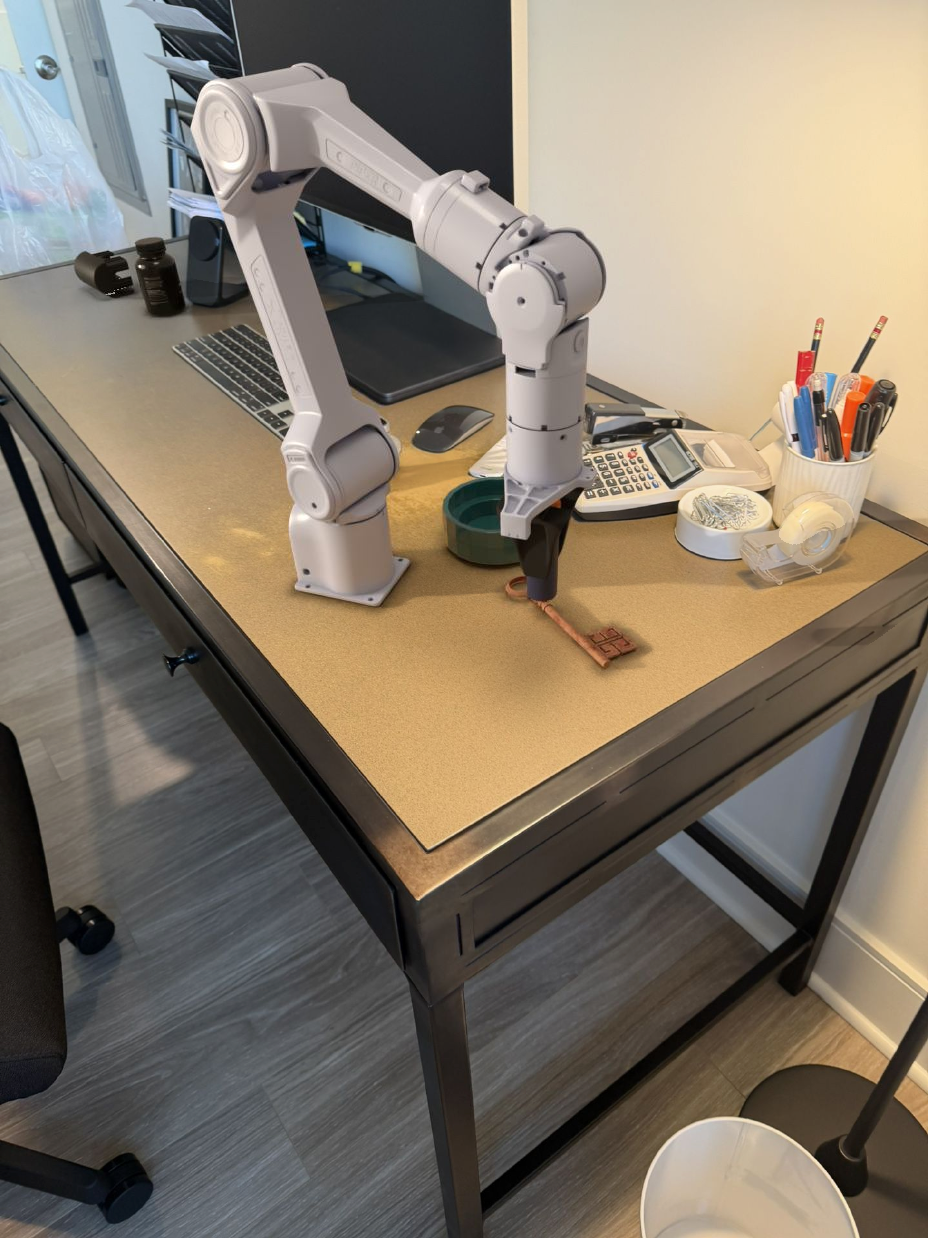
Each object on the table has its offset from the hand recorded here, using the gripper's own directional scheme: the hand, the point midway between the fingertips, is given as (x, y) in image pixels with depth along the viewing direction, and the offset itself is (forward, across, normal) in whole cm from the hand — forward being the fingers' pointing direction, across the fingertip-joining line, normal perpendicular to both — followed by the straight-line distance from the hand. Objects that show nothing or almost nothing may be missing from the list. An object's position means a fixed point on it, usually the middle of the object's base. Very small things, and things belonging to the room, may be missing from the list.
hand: (541, 564), depth 71 cm
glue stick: (+3, 0, 0) cm, 3 cm away
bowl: (+10, +16, +10) cm, 21 cm away
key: (+10, +5, -1) cm, 11 cm away
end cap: (+10, +74, +109) cm, 132 cm away
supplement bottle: (+10, +68, +91) cm, 114 cm away
